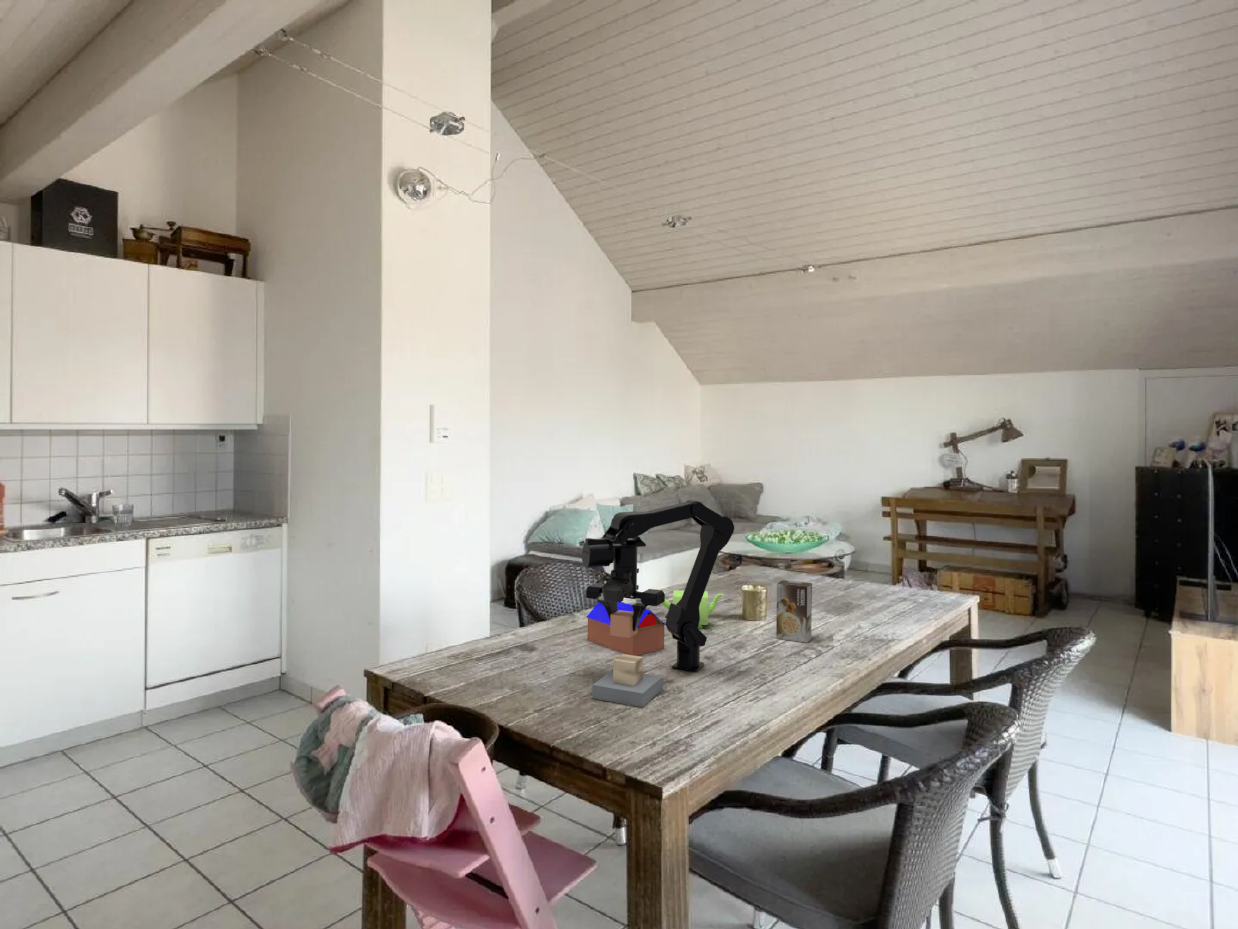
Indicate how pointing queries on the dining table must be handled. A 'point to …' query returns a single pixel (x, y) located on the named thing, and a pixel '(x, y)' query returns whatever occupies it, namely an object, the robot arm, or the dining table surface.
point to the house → (640, 643)
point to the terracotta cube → (622, 624)
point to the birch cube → (628, 669)
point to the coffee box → (794, 611)
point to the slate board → (627, 690)
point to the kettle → (703, 607)
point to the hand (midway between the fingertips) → (624, 629)
